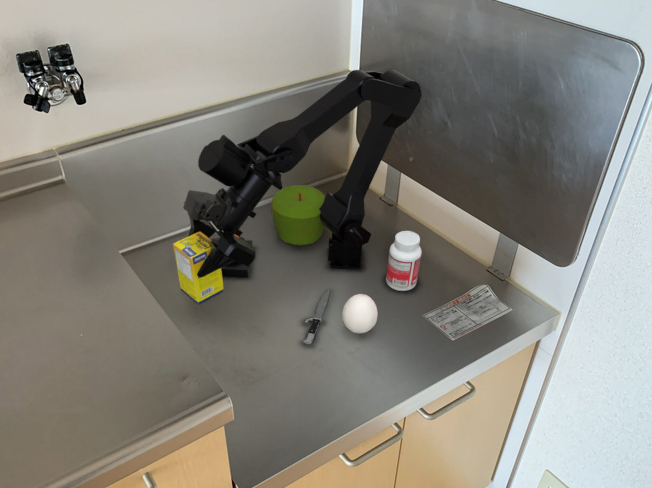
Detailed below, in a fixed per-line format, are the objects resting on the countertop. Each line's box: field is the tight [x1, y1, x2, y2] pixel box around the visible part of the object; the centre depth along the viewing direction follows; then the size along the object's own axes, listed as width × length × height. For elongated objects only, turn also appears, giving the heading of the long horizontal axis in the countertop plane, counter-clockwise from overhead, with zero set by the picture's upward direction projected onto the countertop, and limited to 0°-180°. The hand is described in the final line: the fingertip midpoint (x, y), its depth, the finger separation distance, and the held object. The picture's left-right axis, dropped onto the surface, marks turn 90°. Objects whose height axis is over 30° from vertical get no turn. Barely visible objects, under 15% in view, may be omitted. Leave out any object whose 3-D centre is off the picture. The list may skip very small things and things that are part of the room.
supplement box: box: [172, 232, 225, 306], centre depth 111 cm, size 6×6×11 cm
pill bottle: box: [385, 230, 423, 292], centre depth 120 cm, size 6×6×11 cm
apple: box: [270, 184, 326, 246], centre depth 132 cm, size 12×12×11 cm
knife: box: [303, 289, 330, 345], centre depth 115 cm, size 15×1×3 cm
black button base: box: [210, 236, 254, 279], centre depth 127 cm, size 12×10×4 cm
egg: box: [341, 293, 379, 334], centre depth 111 cm, size 6×6×8 cm
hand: (191, 265), depth 109 cm, fingers closed on supplement box, 6 cm apart
